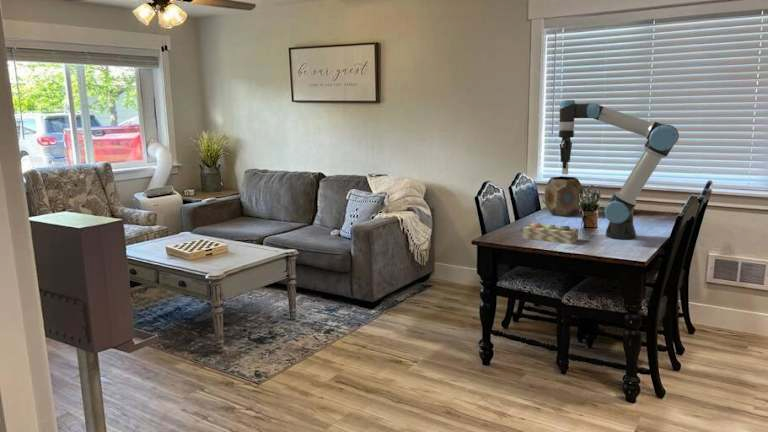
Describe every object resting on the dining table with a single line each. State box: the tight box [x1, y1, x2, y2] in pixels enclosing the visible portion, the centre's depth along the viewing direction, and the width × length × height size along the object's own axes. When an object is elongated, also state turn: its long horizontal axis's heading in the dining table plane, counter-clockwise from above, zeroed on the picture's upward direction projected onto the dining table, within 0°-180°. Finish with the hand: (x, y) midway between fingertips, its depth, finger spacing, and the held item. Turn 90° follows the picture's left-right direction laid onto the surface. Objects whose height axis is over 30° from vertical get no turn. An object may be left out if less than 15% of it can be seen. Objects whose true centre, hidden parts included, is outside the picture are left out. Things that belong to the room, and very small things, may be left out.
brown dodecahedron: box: [543, 176, 584, 217], centre depth 376 cm, size 22×24×24 cm
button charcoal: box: [560, 225, 571, 231], centre depth 304 cm, size 5×5×4 cm
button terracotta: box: [531, 222, 542, 228], centre depth 313 cm, size 5×5×4 cm
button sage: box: [545, 223, 556, 230], centre depth 309 cm, size 5×5×4 cm
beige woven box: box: [522, 223, 579, 245], centre depth 309 cm, size 26×12×6 cm, turn 53°
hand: (565, 174), depth 307 cm, fingers closed
